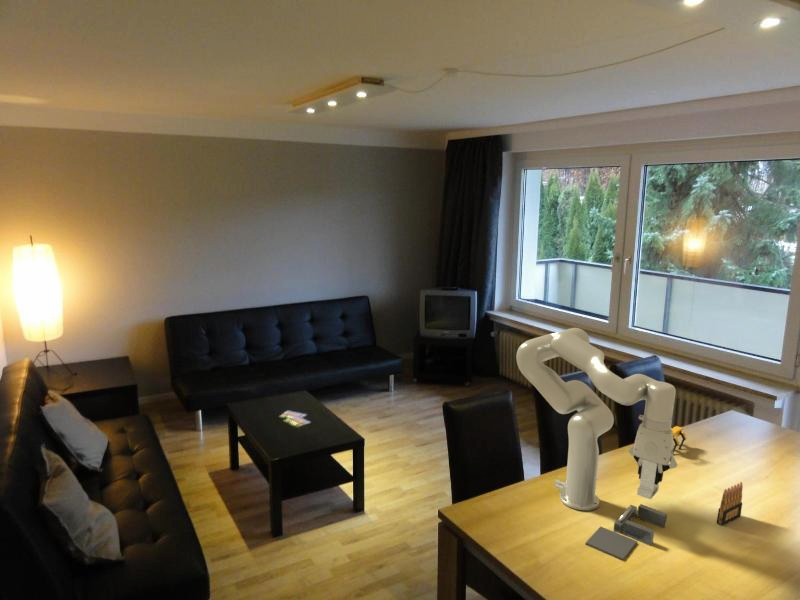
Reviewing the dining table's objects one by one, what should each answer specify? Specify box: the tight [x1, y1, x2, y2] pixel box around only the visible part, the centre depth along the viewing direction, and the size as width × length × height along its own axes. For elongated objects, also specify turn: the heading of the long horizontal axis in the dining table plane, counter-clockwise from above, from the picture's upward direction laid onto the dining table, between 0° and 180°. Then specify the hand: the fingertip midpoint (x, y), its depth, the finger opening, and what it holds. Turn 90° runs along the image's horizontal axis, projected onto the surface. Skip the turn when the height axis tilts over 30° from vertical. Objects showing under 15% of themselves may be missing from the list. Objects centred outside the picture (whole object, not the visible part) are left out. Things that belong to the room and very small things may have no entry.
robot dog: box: [671, 425, 688, 454], centre depth 228 cm, size 6×18×13 cm, turn 132°
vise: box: [613, 503, 668, 546], centre depth 177 cm, size 11×14×4 cm
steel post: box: [636, 459, 660, 501], centre depth 173 cm, size 4×7×12 cm, turn 139°
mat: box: [585, 526, 638, 561], centre depth 169 cm, size 11×11×1 cm
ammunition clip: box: [716, 481, 743, 527], centre depth 181 cm, size 11×2×12 cm, turn 122°
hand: (649, 479), depth 173 cm, fingers closed on steel post, 4 cm apart
